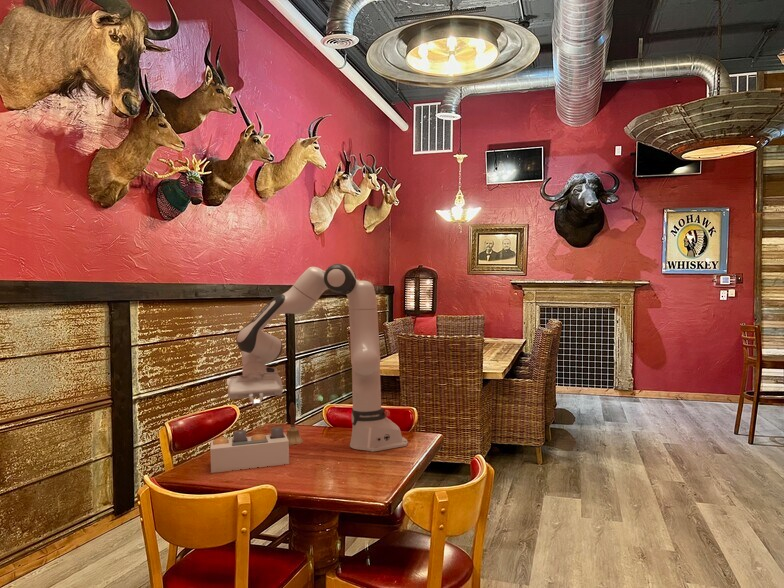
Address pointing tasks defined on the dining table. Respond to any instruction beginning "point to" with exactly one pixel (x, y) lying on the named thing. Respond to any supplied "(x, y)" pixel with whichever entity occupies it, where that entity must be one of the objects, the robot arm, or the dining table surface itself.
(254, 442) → the keypad
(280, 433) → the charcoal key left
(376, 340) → the robot arm
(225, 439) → the orange key
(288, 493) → the dining table surface
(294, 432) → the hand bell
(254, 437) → the orange key
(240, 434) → the charcoal key middle
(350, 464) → the dining table surface
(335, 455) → the dining table surface
